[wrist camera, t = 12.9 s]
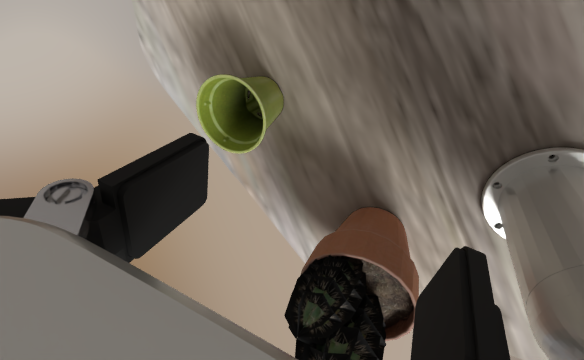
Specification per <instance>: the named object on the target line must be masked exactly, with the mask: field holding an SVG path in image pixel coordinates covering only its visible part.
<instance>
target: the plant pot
mask: <svg viewBox="0 0 584 360" xmlns="http://www.w3.org/2000/svg"><path fill="white" fill-rule="evenodd" d="M248 90H250V95H249V99H248ZM196 109H197V114H198V118H199V121H200V124H201V126H202V128H203V130H204V131H205V133H206V134H207V136H208V137H209V138H210V139H211V140H212V141H213V142H214V143H215V144H216V145H217V146H219V147H220V148H222V149H223V150H226V151H228V152H231V153H237V154H238V153H247V152H250V151H252V150H253V149H255V148H256V147H257V146H258V145H259V144H260V143H261V141H262V140H263V138H264V135H265V132H266V129H267V128H268V127H269V126H270V125H271V123H272V122H273V121H274V120H275V119H276V118H277V117H278V116H279V114H280V113H281V111H282V109H283V95H282V93H281V91H280V90H279V88H278V86H277V84H276V83H275V82H274V81H273V80H271V79H270V78H267V77H263V76H259V77H248V78H238V77H236V76H233V75H227V74H221V75H215V76H212V77H210V78H209V79H207V80H206V81H205V82H204V83H203V84H202V86H201V87H200V89H199V92H198V95H197V100H196ZM257 112H259V113H261V114H262V116H263V117H262V116H260V115H258V114H257Z"/></svg>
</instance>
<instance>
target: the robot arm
mask: <svg viewBox="0 0 584 360" xmlns="http://www.w3.org/2000/svg"><path fill="white" fill-rule="evenodd" d="M550 155H553V156H552V157H549V156H550ZM208 158H209V145H208V144H207V143H206V139H205V138H203V137H201V136H198V135H196V134H193V133H189V134H187V135H185V136H183V137H181V138H179V139H177V140H175V141H173V142H171V143H169V144H167V145H165V146H163V147H161V148H159V149H157V150H156V151H153V152H151V153H149V154H147V155H145V156H143V157H141V158H139V159H137V160H135V161H134V162H131V163H129V164H127V165H126V166H124V167H122V168H120V169H118V170H116V171H114V172H112V173H110V174H108V175H106V176H104V177H102V178H100V179H98V184H99V185H98V186H97V187H95V188H94V187H93V186H92V184H91V183H89V182H88V181H85V180H82V179H64V180H60V181H56V182H53V183H51V184H48V185H47V186H45V187H44V188H42V189H41V190H40V191H39V192H38V194H37V196H36V197H28V198H14V199H0V360H298V359H296V358H294V357H292V356H291V355H289V354H287V353H286V352H284V351H282V350H280V349H279V348H277V347H275V346H274V345H272V344H270V343H268V342H267V341H265V340H263V339H262V338H260V337H258V336H256V335H255V334H253V333H251V332H249V331H247V330H246V329H244V328H242V327H241V326H238V325H237V324H235V323H233V322H232V321H230V320H228V319H227V318H225V317H223V316H221V315H220V314H217V313H216V312H214V311H213V310H211V309H209V308H207V307H205V306H204V305H202V304H200V303H199V302H197V301H195V300H193V299H192V298H190V297H188V296H186V295H184V294H183V293H181V292H179V291H178V290H176V289H174V288H172V287H170V286H168V285H167V284H165V283H163V282H162V281H160V280H158V279H156V278H154V277H153V276H151V275H149V274H147V273H145V272H144V271H142V270H140V269H138V268H137V267H135V266H133V265H131V264H130V262H131V261H132V260H133V259H134V258H135V259H137V258H140V257H141V256H143V255H144V254H145V253H146V252H147V251H149V250H150V249H151V248H152V247H153V246H155V245H156V244H157V243H158V242H159V241H161V240H162V239H163V238H164V237H165V236H166V235H168V234H169V233H170V232H171V231H173V230H174V229H175V228H176V227H177V226H178V225H180V224H181V223H182V222H183V221H185V220H186V219H187V218H188V217H189V216H191V215H192V214H193V213H194V212H195V211H196V210H198V209H199V208H200V207H201V206H202V205H203V204H204V203H205V201H206V199H207V187H208V186H207V185H208ZM495 182H498V183H495ZM481 201H482V210H483V214H484V217H485V219H486V221H487V223H488V224H489V226H490V227H491V228H492V229H493V230H494V231H495V232H496V233H497V234H498V235H500V236H501V237H503V238H504V239H506V240H507V244H508V247H509V251H510V255H511V258H512V262H513V266H514V269H515V273H516V277H517V280H518V284H519V288H520V291H521V295H522V299H523V302H524V306H525V310H526V313H527V316H528V319H529V323H530V327H531V329H532V332H533V335H534V337H535V339H536V341H537V343H538V345H539V346H540V348H541V349H542V351H543V352H544V353H545V355H546V356H547V357H548V358H549V360H584V150H583V149H576V148H548V149H540V150H536V151H533V152H529V153H526V154H523V155H521V156H519V157H516V158H514V159H512V160H510V161H509V162H507V163H506V164H504V165H502V166H501V167H500V168H499V169H498V170H497V171H495V172H494V173H493V175H492V176H491V177H490V178H489V180H488V181H487V183H486V185H485V187H484V189H483V193H482V198H481ZM411 360H510V355H509V350H508V345H507V340H506V335H505V329H504V324H503V319H502V314H501V311H500V308H499V307H498V306H497V305H495V304H494V299H493V293H492V287H491V282H490V276H489V270H488V264H487V259H486V255H485V254H484V253H481V252H479V251H476V250H474V249H471V248H469V247H467V246H464V247H463V248H461V249H459V248H455V249H454V250H453V251H452V253H451V254H450V255H449V257H448V258H447V259H446V261H445V262H444V263H443V265H442V266H441V267H440V269H439V270H438V271H437V273H436V274H435V275H434V277H433V278H432V280H431V281H430V282H429V284H428V285H427V286H426V288H425V289H424V290H423V292H422V293H421V294H420V296H419V297H418V299H417V302H416V306H415V317H414V329H413V340H412V351H411Z"/></svg>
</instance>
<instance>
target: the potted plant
mask: <svg viewBox="0 0 584 360" xmlns="http://www.w3.org/2000/svg"><path fill="white" fill-rule="evenodd" d="M418 297H419V276H418V273H417V270H416V267H415V265H414V262H413V261H412V260H411V259H410V253H409V248H408V242H407V236H406V232H405V229H404V226H403V224H402V223H401V222H400V221H399V219H398V218H397V217H395V216H394V215H393V214H391V213H390V212H388V211H385V210H383V209H380V208H373V207H367V208H360V209H358V210H356V211H354V212H352V214H351V215H350V216H349V217H348V218H347V219H346V220H345V221H344V222H343V223H342V224H341V226H340V227H339V228H338V229H337V230H336V231H335V232H333V233H331V234H329V235H327V236H325V237H324V238H323V239H322V240H321V241H320V242H319V243H318V245H317V246H316V248H315V249H314V251H313V252H312V254H311V256H310V257H309V259H308V261H307V262H306V264H305V266H304V267H303V269H302V272H301V276H300V277H299V278H298V279H297V282H296V285H295V288H294V290H293V292H292V295H291V298H290V301H289V304H288V307H287V310H286V312H285V318H286V320H287V321H288V324H289V329H290V330H291V332H292V334H293V335H294V337H295V338H296V339H297V340H296V352H295V358H296V359H298V360H383V353H384V347H385V346H386V343H385V341H389V340H396V339H398V338H400V337H402V336H404V335H406V334H408V333H410V331H411V330H412V329H413V327H414V317H415V306H416V302H417V299H418Z"/></svg>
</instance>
